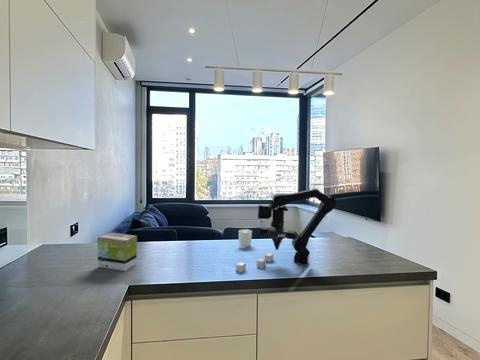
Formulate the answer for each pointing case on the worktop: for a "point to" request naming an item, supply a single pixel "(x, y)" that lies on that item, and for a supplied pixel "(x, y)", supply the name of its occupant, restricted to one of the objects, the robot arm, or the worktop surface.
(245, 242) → the white cup
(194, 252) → the worktop surface
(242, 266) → the near slider
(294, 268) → the worktop surface
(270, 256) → the block
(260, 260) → the middle slider
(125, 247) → the tea box
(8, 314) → the worktop surface
